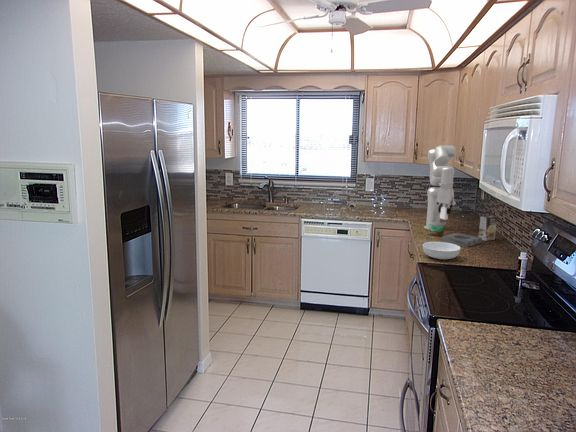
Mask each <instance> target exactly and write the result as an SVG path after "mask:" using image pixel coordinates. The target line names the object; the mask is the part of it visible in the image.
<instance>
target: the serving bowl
mask: <svg viewBox="0 0 576 432" xmlns="http://www.w3.org/2000/svg"><path fill="white" fill-rule="evenodd" d="M422 250H423V252H424V254H425V255H427V256H429V257H431V258H433V259H436V260H450V259H451V260H452V259H454V258H456V257H457V256H458V255H459V254H460V252H461V250H462V249H461V246H460V245H455V244H451V243H446V242H442V241H427V242H424V243H423V244H422Z"/></svg>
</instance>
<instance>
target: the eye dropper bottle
mask: <svg viewBox="0 0 576 432" xmlns="http://www.w3.org/2000/svg"><path fill="white" fill-rule="evenodd" d="M447 208H448V205H447V204H444V203H443V204H442V207H441V210H440V220H445V221H446V220H448V219H449V218H448V217H449V214H447Z"/></svg>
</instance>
